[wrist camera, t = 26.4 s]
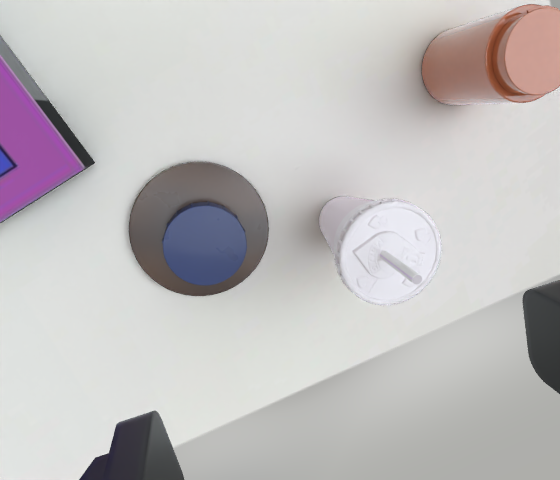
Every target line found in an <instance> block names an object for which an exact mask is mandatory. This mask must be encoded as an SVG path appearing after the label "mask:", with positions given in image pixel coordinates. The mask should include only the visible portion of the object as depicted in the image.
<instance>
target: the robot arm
mask: <svg viewBox="0 0 560 480" xmlns="http://www.w3.org/2000/svg"><path fill="white" fill-rule="evenodd" d="M523 309H524V319H525V327H526V336H527V345H528V353H529V358H530V361H531V364H532V365H533V368H534V369H535V371H536V373H537V374H538V376H539V377H540V378H541V379H542V380H543V381H544V382H545V383H546V384H547V385H549V386H550V387H551V388H553V389H554V390H555V391H557V392H558V393H559V394H560V280H558V281H555V282H551V283H549V284H545V285H542V286H539V287H536V288H533V289H530V290H527V291H526V292H525V293H524V295H523ZM79 480H184V477H183V474H182V470H181V468H180V465H179V463H178V460H177V457H176V455H175V453H174V450H173V447H172V445H171V442H170V440H169V437H168V434H167V432H166V429H165V427H164V424H163V422H162V419H161V417H160V415H159V414H158V412H157V411H152V412H149V413H146V414H143V415H140V416H137V417H134V418H131V419H128V420H125V421H122V422H119V423H118V424H117V425H116V428H115V432H114V436H113V440H112V444H111V447H110V451H109V453H108V454H105V455H102V456H99V457H96V458H95V459H94V460H93V462H92V463H91V464H90V466H89V467H88V468H87V470H86V471H85V473H84V474H83V475H82V477H81V478H80V479H79Z"/></svg>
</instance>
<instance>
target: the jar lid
mask: <svg viewBox="0 0 560 480" xmlns="http://www.w3.org/2000/svg"><path fill="white" fill-rule="evenodd" d="M245 233H246V232H245V229H244V228H243V227H242V225H241V223H240V221H239V220H238V217H237V215H234V214H233V213H232V212H231V211H230V210H228V209H227V208H225V206H224V205H223V206H221V205H219V204H216V203H211V202H209V201H207V202H198V203H194V204H193V203H191V204H190V205H188V206H186V207H184V208H182V209H181V210H179V211H178V210H177V212H176V214H175V215H174V216H173V217H172V218H171V220H170V221H169V223H167V225H166V230H165V234H164V238H163V239H162V243H163V253H164V258H165V260H166V262H167V264H168V266H169V267H170V269H171V270H172V271H173V272H174V273H175V274H176V275H177V276H178V277H179V278H181V279H182V280H184V281H186V282H189V283H192V284H195V285H213V284H217V283H220V282H223V281H225V280H226V279H228V278H230V277H231V276H232V275H233V274H234V273H235V272H236V271H237V270H238V269H239V268H240V266H241V264H242V263H243V261H244V258H245V255H246V249H247V241H246V235H245Z"/></svg>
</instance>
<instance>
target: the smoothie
mask: <svg viewBox="0 0 560 480" xmlns="http://www.w3.org/2000/svg"><path fill="white" fill-rule="evenodd" d="M319 226H320V229H321V231H322V233H323V235H324V237H325V239H326V241H327V243H328V245H329V247H330V249H331V251H332V252H333V254H334V256H335V263H336V268H337V272H338V274H339V276H340V278H341V280H342V282H343V283H344V284H345V285H346V286H347V287H348V288H349V290H350V291H351V292H353V293H354V294H355V295H356V296H358V297H359V298H361V299H362V300H364V301H366V302H369V303H372V304H377V305H393V304H398V303H401V302H404V301H406V300H409V299H410V298H412V297H414V296H415V295H417V294H418V293H419V292H421V291H422V290H423V289H424V288H425V287H426V286H427V285H428V283H429V282H430V281H431V279H432V278H433V276H434V275H435V273H436V271H437V268H438V266H439V262H440V258H441V251H442V244H441V237H440V233H439V230H438V228H437V226H436V224H435V222H434V221H433V219H432V218H431V217H430V216H429V215H428V214H427V213H426V212H425V211H423V210H422V209H421V208H419V207H417V206H415V205H414V204H412V203H411V202H408V201H404V200H401V199H381V200H377V201H374V200H368V199H361V198H355V197H348V196H339V197H336V198H333V199H332V200H330V201H329V202H327V203H326V204H325V206H324V207H323V209H322V210H321V213H320V216H319Z"/></svg>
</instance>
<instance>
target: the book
mask: <svg viewBox="0 0 560 480" xmlns="http://www.w3.org/2000/svg"><path fill="white" fill-rule="evenodd" d="M94 163H95V162H94V161H93V159H92V158H91V157H90V155H89V154H88V153H87V151H86V150H85V149H84V147H83V146H82V145H81V143H80V142H79V141H78V139H77V138H76V137H75V135H74V134H73V132H72V131H71V130H70V128H69V127H68V126H67V124H66V123H65V122H64V120H63V119H62V118H61V116H60V115H59V114H58V112H57V111H56V110H55V108H54V107H53V106H52V104H51V103H50V102H49V100H48V99H47V98H46V96H45V95H44V93H43V92H42V91H41V89H40V88H39V87H38V85H37V84H36V83H35V81H34V80H33V79H32V77H31V76H30V75H29V73H28V72H27V71H26V69H25V68H24V67H23V65H22V64H21V63H20V61H19V60H18V59H17V57H16V56H15V54H14V53H13V52H12V50H11V49H10V48H9V46H8V45H7V44H6V42H5V41H4V40H3V38H2V37H1V36H0V223H2V222H3V221H5V220H6V219H8V218H10V217H11V216H13V215H14V214H16V213H17V212H19V211H20V210H22V209H24V208H25V207H27V206H28V205H30V204H31V203H33V202H35V201H36V200H38V199H39V198H41V197H42V196H44V195H45V194H47V193H49V192H50V191H52V190H53V189H55V188H56V187H58V186H60V185H61V184H63V183H64V182H66V181H67V180H69V179H71V178H72V177H74V176H75V175H77V174H78V173H80V172H81V171H83V170H85V169H86V168H88V167H89V166H91V165H92V164H94Z"/></svg>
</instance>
